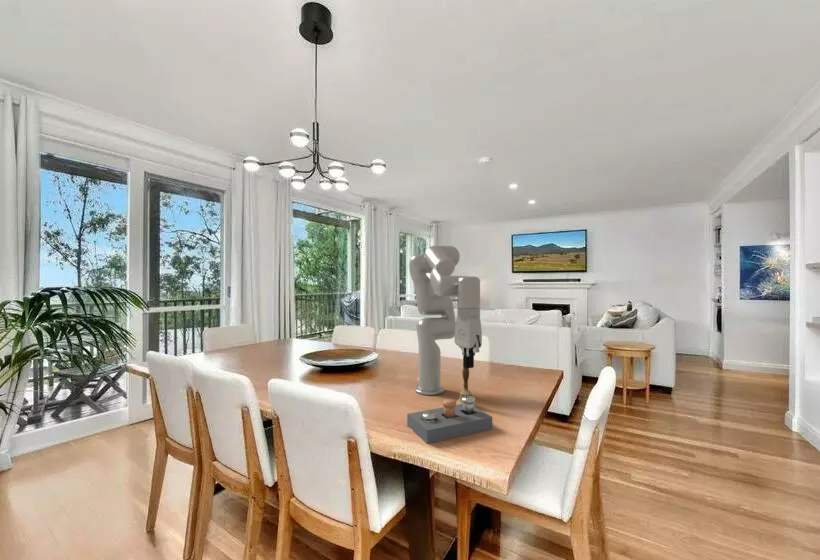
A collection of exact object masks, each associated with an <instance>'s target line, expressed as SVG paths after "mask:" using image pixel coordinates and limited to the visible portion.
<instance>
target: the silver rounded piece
mask: <svg viewBox="0 0 820 560" xmlns="http://www.w3.org/2000/svg"><path fill="white" fill-rule="evenodd" d="M462 402H463V413H464V414H466V415H470V414H474V403H475V404H476V397H474V396H473V395H472V396H464V397H462Z"/></svg>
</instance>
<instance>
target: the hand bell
mask: <svg viewBox="0 0 820 560" xmlns="http://www.w3.org/2000/svg"><path fill="white" fill-rule="evenodd" d="M462 367H463V366H462ZM469 369H470V368H464V367H463V368H462V370H461V371H462V379H463V390H461V391H460V392H459V398H458V400H457V401H456V405H460V404H463V402H462V397H464V396H472V397H473V393H472V391H471V390H469V378H470V370H469ZM474 407H476V408H477V409H478V405H477V404H476V402H475V403H474Z"/></svg>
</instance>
